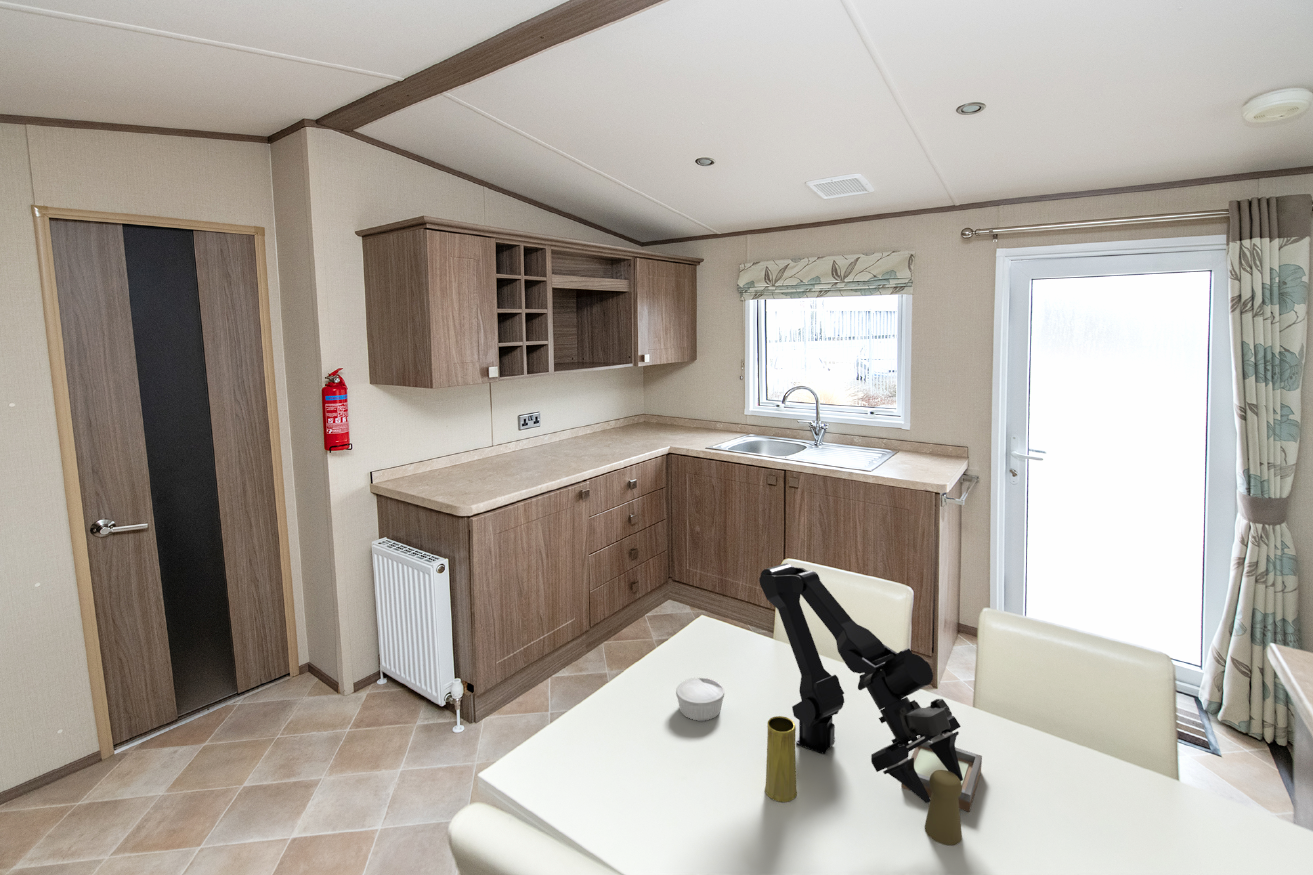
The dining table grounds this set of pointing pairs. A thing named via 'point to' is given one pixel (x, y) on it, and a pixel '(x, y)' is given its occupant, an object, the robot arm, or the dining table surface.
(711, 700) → the ramekin
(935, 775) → the olive domed stopper
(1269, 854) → the dining table surface
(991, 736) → the dining table surface
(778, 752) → the vase
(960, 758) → the wooden tray
